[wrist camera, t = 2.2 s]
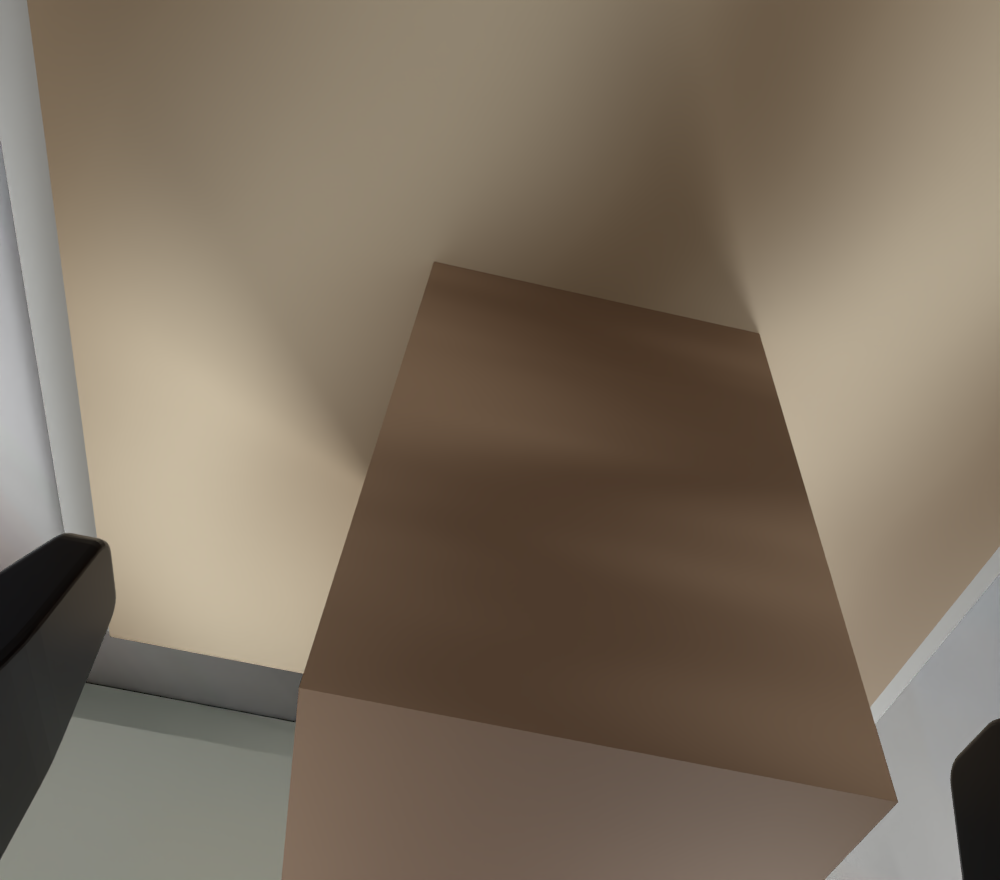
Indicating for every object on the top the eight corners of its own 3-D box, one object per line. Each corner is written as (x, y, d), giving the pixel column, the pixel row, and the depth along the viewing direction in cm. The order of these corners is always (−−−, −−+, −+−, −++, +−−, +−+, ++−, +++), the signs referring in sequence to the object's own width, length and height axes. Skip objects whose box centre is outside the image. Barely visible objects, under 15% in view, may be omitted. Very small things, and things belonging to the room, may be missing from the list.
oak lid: (1358, 5, 9) (2637, 407, 3) (809, 733, 17) (913, 1195, 11) (32, -332, 8) (-1191, -542, 2) (128, 601, 16) (-107, 1028, 10)
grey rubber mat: (1508, -91, 8) (1544, -84, 8) (832, 753, 18) (836, 771, 17) (-78, -510, 7) (-109, -522, 7) (89, 610, 17) (79, 626, 16)
